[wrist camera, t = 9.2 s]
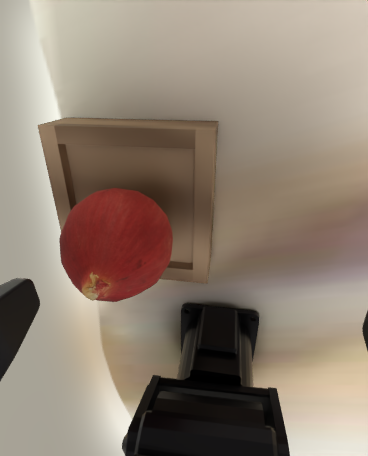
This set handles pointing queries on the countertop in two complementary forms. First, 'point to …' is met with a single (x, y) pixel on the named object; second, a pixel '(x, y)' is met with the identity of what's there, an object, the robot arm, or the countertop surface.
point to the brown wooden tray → (141, 175)
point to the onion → (115, 244)
